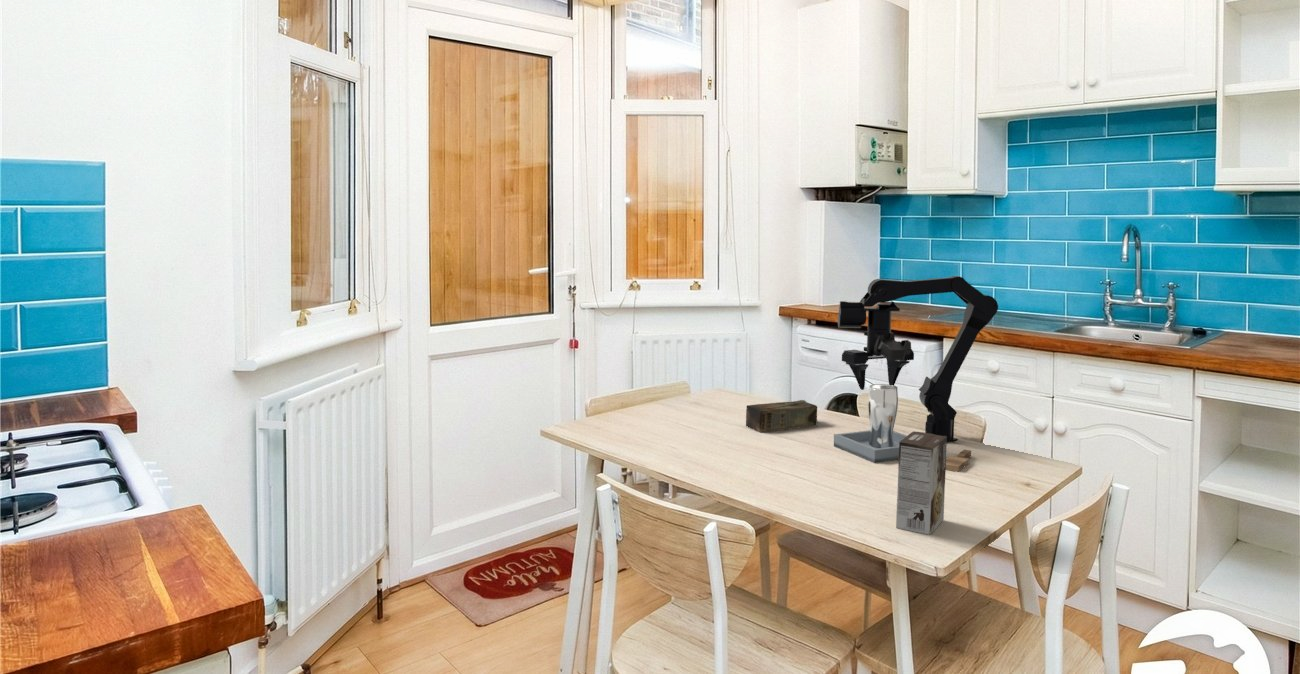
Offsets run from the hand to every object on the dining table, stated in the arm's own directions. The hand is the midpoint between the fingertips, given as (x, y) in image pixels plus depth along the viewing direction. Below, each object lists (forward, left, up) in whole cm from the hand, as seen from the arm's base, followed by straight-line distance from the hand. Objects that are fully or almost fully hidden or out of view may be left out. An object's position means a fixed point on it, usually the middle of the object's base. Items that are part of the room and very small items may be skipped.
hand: (876, 388), depth 204 cm
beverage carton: (+16, -20, -14) cm, 29 cm away
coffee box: (+32, +54, -13) cm, 64 cm away
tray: (+7, +11, -13) cm, 18 cm away
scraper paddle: (-2, +27, -13) cm, 30 cm away
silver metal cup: (+6, +10, -12) cm, 17 cm away
